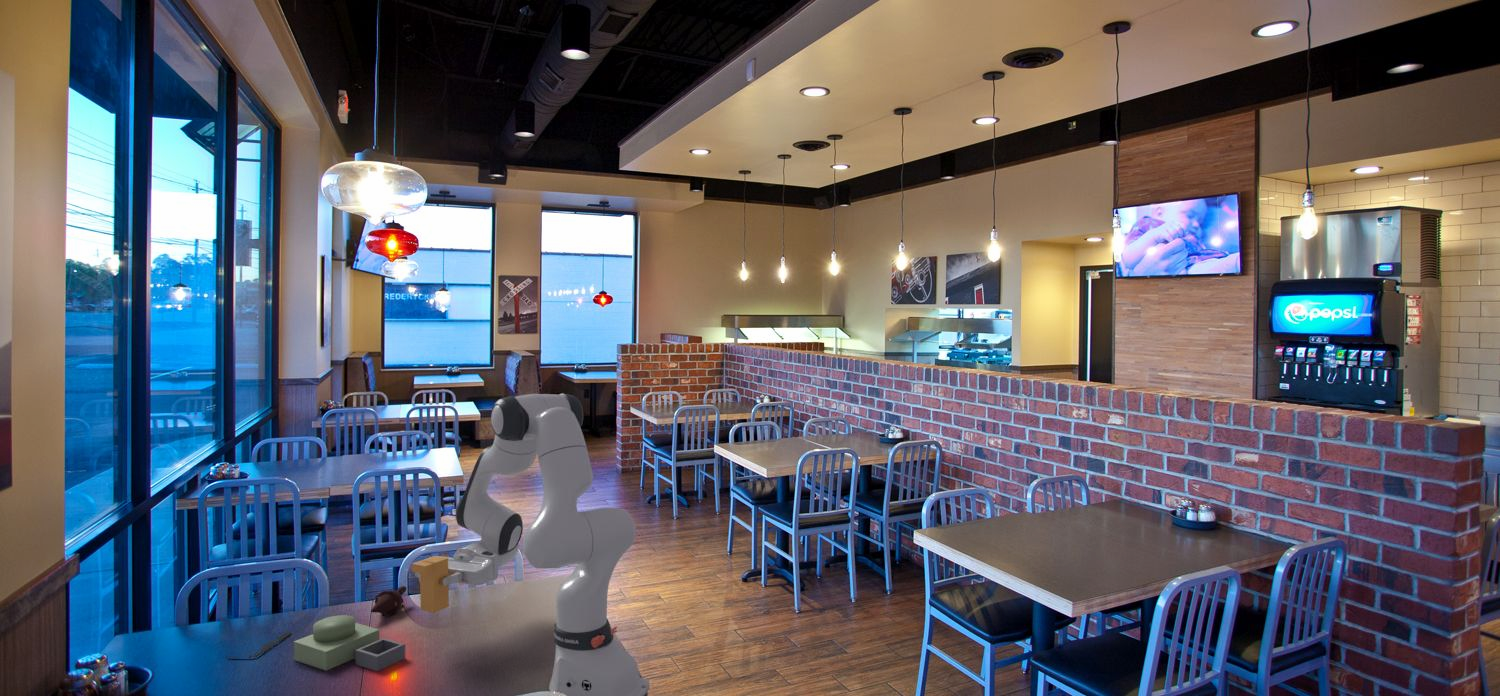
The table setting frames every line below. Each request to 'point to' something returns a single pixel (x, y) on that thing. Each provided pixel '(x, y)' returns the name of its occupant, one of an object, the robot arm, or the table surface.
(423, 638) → the table surface
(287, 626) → the table surface
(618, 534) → the robot arm
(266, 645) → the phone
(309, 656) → the green and grey blocks
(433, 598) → the tall tan cardboard block
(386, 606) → the dark brown rounded piece
